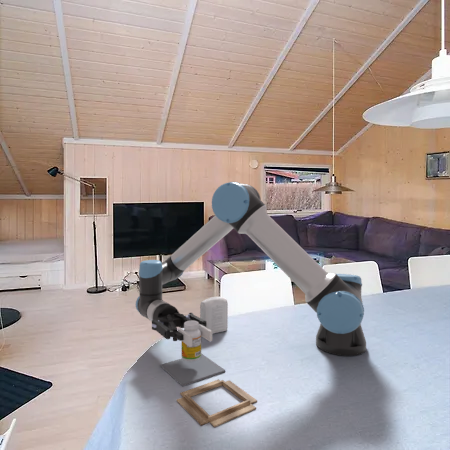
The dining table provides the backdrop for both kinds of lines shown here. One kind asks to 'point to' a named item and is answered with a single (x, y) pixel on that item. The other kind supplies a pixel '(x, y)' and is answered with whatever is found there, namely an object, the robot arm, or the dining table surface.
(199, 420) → the square tan frame
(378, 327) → the dining table surface
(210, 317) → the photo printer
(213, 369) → the slate mat
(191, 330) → the supplement bottle
